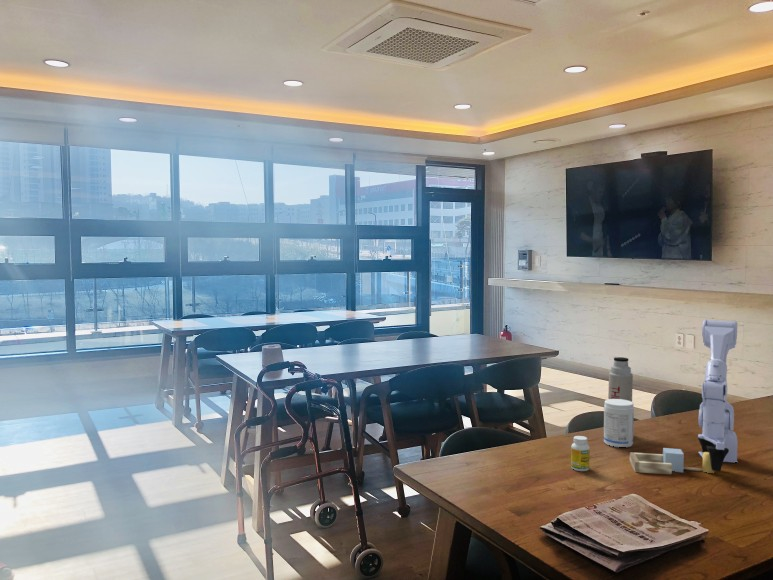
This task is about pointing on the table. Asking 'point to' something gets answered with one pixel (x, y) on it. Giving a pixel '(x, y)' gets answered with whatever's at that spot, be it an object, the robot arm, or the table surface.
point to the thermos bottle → (620, 380)
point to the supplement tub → (618, 422)
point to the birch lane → (649, 463)
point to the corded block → (678, 460)
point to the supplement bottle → (580, 454)
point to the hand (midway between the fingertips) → (712, 466)
